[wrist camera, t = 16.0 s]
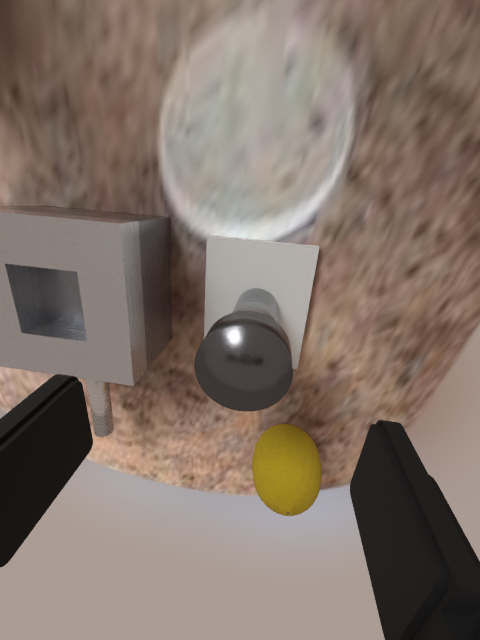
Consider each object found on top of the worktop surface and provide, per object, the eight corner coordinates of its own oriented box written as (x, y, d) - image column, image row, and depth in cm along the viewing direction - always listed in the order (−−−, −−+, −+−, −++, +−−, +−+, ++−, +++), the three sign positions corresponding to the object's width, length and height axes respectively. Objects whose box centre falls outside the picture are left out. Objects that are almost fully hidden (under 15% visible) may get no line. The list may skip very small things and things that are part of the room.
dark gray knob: (228, 274, 21) (195, 320, 13) (292, 281, 21) (300, 333, 13) (224, 332, 23) (193, 403, 15) (283, 339, 23) (285, 417, 15)
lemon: (295, 459, 28) (301, 549, 21) (246, 435, 28) (234, 518, 21) (327, 422, 26) (345, 508, 19) (273, 395, 26) (271, 472, 18)
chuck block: (43, 205, 22) (-55, 206, 15) (169, 217, 21) (120, 223, 15) (77, 396, 29) (18, 452, 22) (172, 411, 28) (140, 474, 22)
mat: (208, 235, 21) (207, 236, 21) (318, 245, 20) (319, 246, 20) (204, 353, 25) (203, 356, 24) (296, 365, 24) (297, 369, 24)
